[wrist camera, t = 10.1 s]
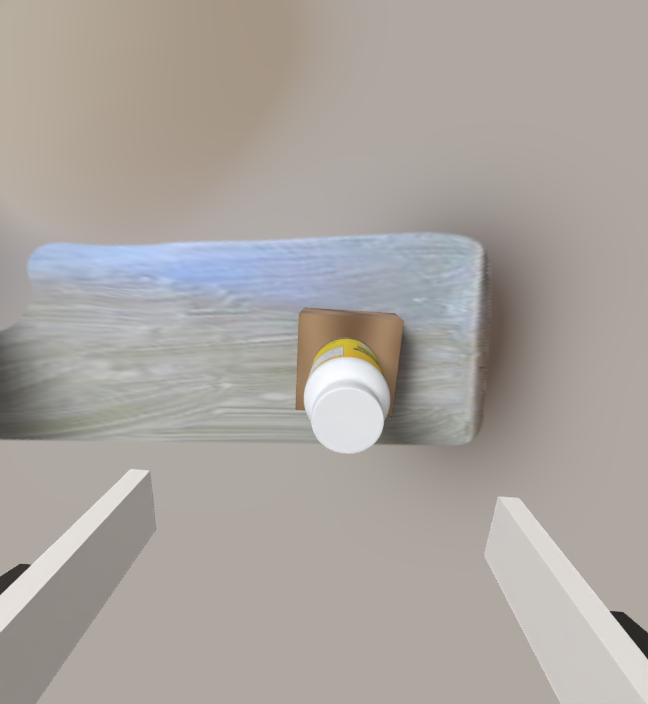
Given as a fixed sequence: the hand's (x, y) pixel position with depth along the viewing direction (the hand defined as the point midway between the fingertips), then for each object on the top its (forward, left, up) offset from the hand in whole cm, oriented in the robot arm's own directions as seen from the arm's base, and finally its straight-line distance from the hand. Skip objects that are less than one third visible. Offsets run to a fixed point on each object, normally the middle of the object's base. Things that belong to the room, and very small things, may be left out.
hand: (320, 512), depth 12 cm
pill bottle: (+1, 0, -20) cm, 20 cm away
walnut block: (+2, 0, -25) cm, 25 cm away
